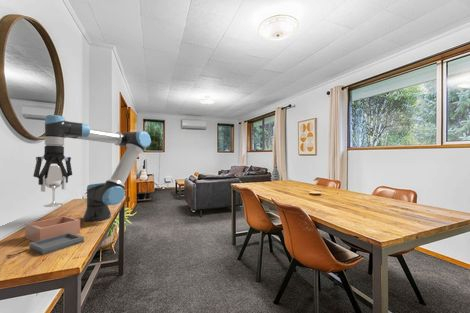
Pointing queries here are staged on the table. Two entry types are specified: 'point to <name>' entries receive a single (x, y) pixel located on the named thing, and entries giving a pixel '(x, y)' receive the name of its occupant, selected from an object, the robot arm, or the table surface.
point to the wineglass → (53, 181)
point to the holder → (51, 228)
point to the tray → (56, 243)
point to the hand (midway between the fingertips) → (53, 190)
